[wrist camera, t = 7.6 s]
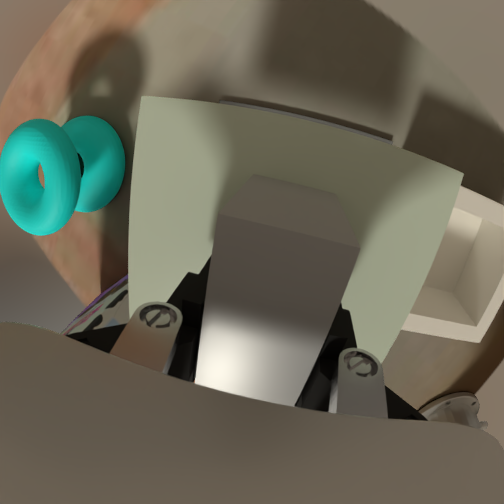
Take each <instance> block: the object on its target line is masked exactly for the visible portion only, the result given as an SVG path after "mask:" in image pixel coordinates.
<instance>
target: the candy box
mask: <svg viewBox="0 0 504 504" xmlns="http://www.w3.org/2000/svg"><path fill="white" fill-rule="evenodd" d="M129 320H130V317H129V289H128V274H127V275H126V276H124V277H123V278H122V279H120V280H119V281H118V282H116V283H115V284H113V285H112V286H111V287H109V288H108V289H107V290H105V291H104V292H103V293H101V294H100V295H99V296H98V297H97V298H96V299H95V300H94V301H93V302H92V303H91V304H90V305H89V306H88V307H86V308H85V310H84V311H82V312H81V313H80V314H79V315H78V316H77V317H76V318H75V319H74V320H73V321H72V322H71V323H70V324H69V325H68V326H67V327H66V328H65V329H64V330H63V331H62V332H61V333H60V334H62V335H64V336H66V335H69V334H72V333H76V332H82V331H88V330H93V329H99V328H104V327H110V326H115V325H120V324H125V323H128V322H129Z"/></svg>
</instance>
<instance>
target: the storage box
mask: <svg viewBox="0 0 504 504" xmlns="http://www.w3.org/2000/svg"><path fill="white" fill-rule="evenodd" d="M503 300H504V205H502V204H500V203H498V202H496V201H494V200H492V199H489V198H487V197H485V196H483V195H481V194H479V193H477V192H474V191H472V190H470V189H468V188H465V187H463V186H461V185H460V189H459V192H458V195H457V198H456V201H455V204H454V207H453V210H452V213H451V216H450V219H449V222H448V225H447V228H446V230H445V233H444V236H443V238H442V241H441V243H440V246H439V248H438V251H437V253H436V256H435V258H434V261H433V263H432V265H431V268H430V270H429V272H428V275H427V277H426V279H425V281H424V284H423V286H422V288H421V290H420V292H419V294H418V296H417V299H416V301H415V303H414V305H413V307H412V309H411V311H410V313H409V315H408V317H407V319H406V321H405V322H404V324H403V326H402V328H401V329H402V330H407V331H412V332H418V333H423V334H429V335H434V336H440V337H446V338H452V339H458V340H464V341H470V342H476V343H480V341H481V340H482V338H483V336H484V335H485V333H486V331H487V329H488V328H489V326H490V324H491V322H492V321H493V319H494V317H495V315H496V313H497V311H498V310H499V308H500V306H501V304H502V302H503Z"/></svg>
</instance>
